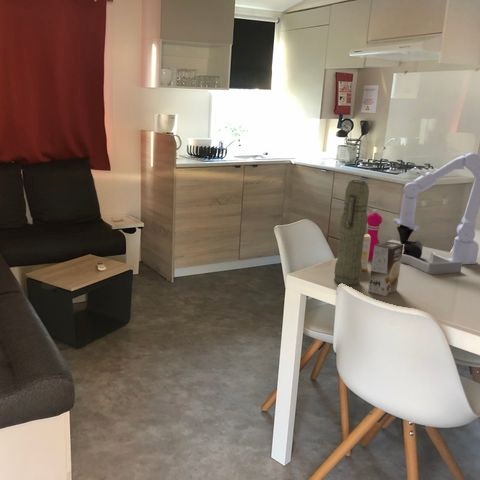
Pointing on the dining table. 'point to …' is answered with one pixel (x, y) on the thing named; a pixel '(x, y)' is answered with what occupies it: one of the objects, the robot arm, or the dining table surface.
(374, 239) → the pepper mill
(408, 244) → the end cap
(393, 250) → the coffee box
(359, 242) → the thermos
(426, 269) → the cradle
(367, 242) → the cream bottle
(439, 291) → the dining table surface
